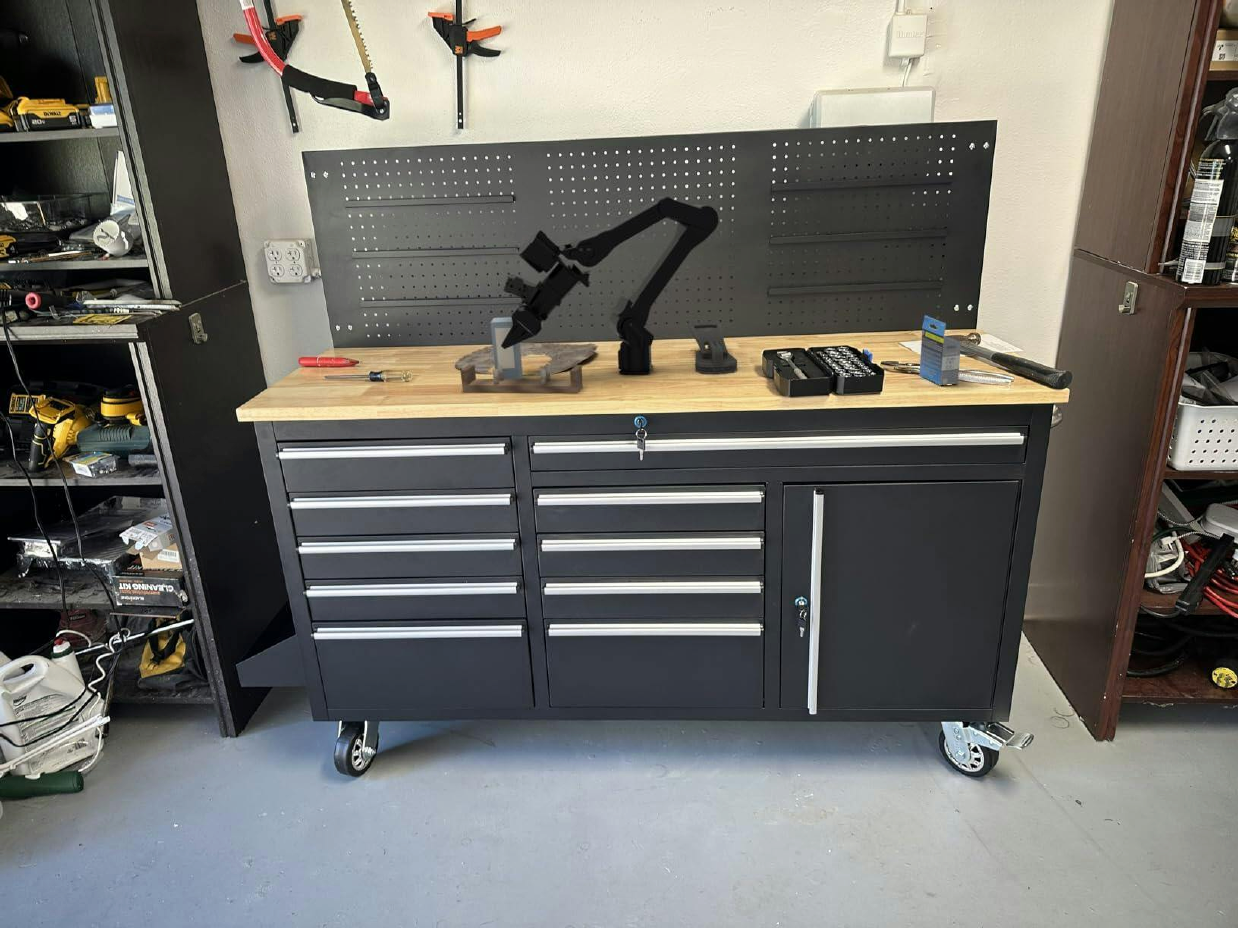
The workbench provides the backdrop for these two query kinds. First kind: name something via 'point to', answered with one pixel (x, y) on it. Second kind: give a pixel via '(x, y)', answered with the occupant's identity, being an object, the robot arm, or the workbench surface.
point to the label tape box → (939, 354)
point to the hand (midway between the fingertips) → (505, 342)
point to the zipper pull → (711, 349)
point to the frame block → (508, 356)
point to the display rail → (521, 382)
